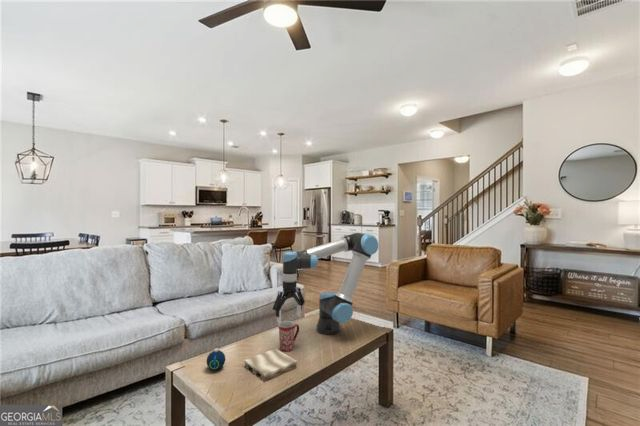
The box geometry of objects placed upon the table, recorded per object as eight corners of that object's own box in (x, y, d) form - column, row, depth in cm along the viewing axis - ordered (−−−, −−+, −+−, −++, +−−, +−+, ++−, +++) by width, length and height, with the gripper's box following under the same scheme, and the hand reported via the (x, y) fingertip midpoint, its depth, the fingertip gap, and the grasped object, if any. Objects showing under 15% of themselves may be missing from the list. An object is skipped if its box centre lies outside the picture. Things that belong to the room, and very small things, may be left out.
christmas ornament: (202, 372, 142) (202, 350, 142) (213, 363, 150) (213, 343, 150) (218, 374, 140) (218, 352, 139) (228, 365, 148) (228, 345, 148)
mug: (284, 354, 160) (284, 328, 159) (275, 348, 167) (275, 323, 166) (303, 347, 168) (303, 322, 167) (294, 341, 175) (294, 318, 174)
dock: (275, 354, 160) (275, 348, 159) (297, 367, 146) (297, 361, 146) (244, 366, 147) (244, 360, 147) (265, 381, 134) (265, 375, 134)
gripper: (302, 276, 178) (302, 312, 178) (266, 282, 161) (265, 323, 161) (311, 278, 172) (310, 316, 173) (274, 285, 155) (273, 327, 155)
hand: (289, 319), depth 167 cm, fingers open, 13 cm apart
